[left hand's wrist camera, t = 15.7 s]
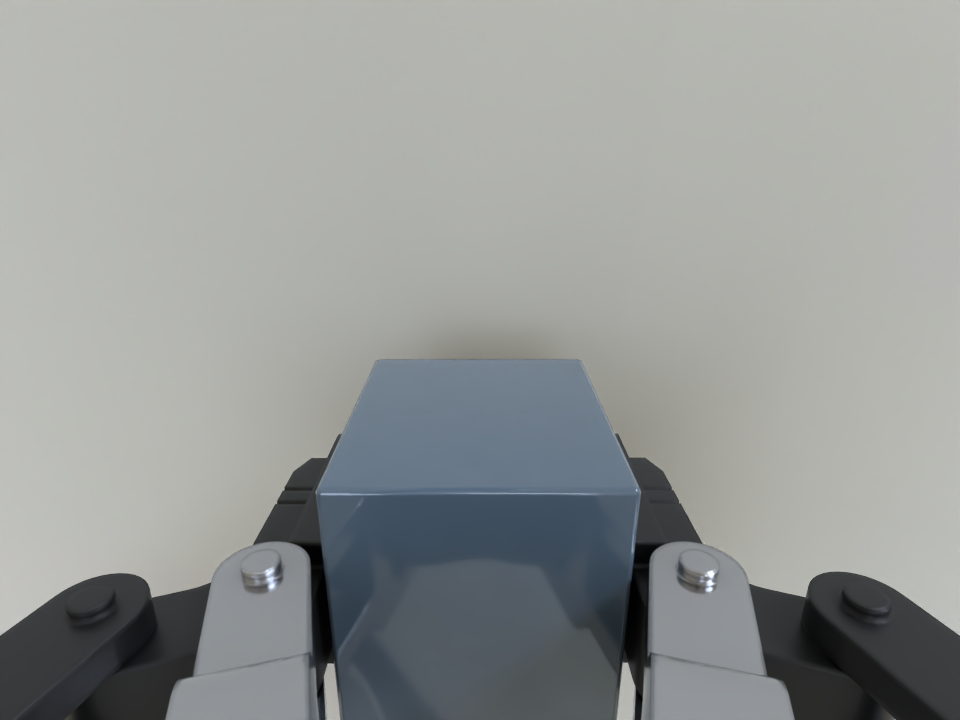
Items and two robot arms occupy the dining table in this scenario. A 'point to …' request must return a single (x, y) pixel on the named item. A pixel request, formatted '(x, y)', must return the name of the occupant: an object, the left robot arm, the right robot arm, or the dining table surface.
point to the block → (478, 544)
